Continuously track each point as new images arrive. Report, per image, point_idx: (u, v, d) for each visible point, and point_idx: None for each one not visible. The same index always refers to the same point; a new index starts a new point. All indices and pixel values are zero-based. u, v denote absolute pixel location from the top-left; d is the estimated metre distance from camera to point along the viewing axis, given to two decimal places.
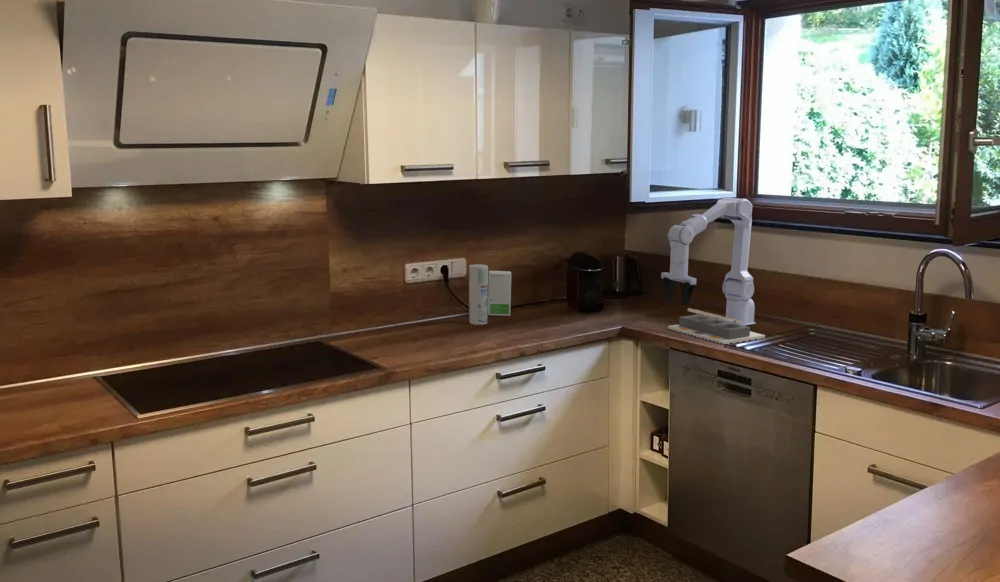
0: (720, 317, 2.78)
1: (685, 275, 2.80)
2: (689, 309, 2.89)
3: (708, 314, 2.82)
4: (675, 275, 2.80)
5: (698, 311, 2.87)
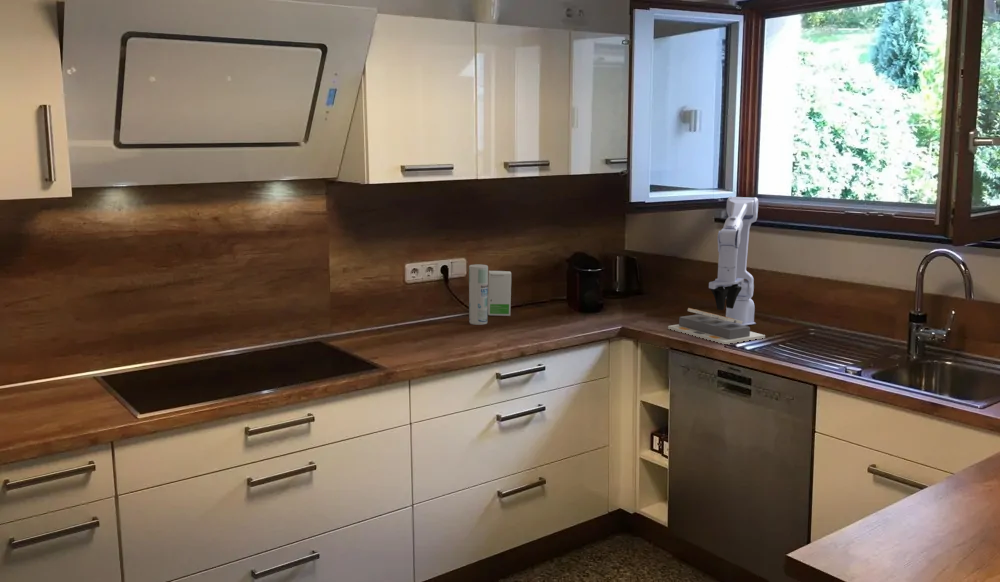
0: (720, 317, 2.78)
1: (721, 280, 2.73)
2: (689, 309, 2.89)
3: (708, 314, 2.82)
4: None
5: (698, 311, 2.87)
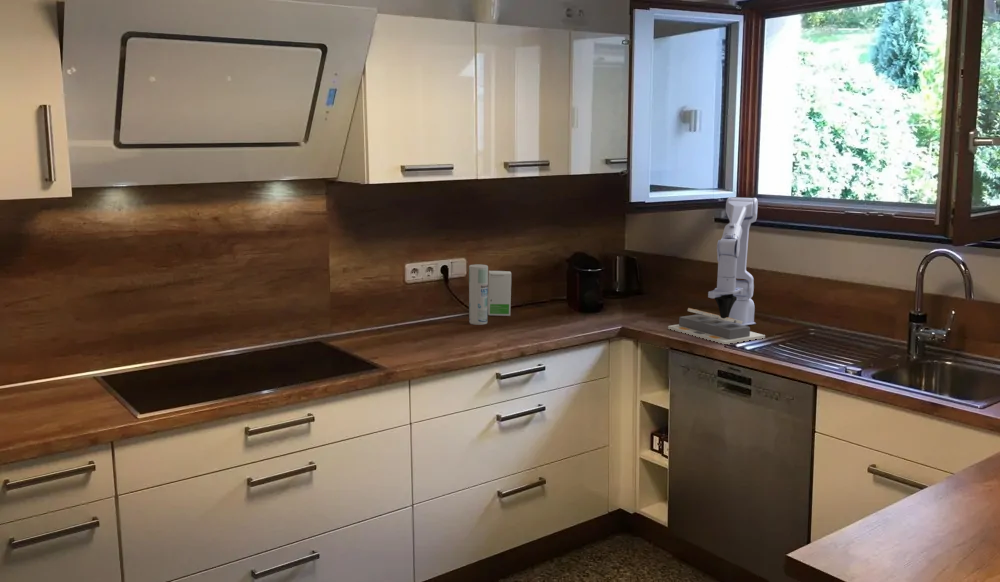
0: (720, 317, 2.78)
1: (721, 289, 2.73)
2: (689, 309, 2.89)
3: (708, 314, 2.82)
4: None
5: (698, 311, 2.87)
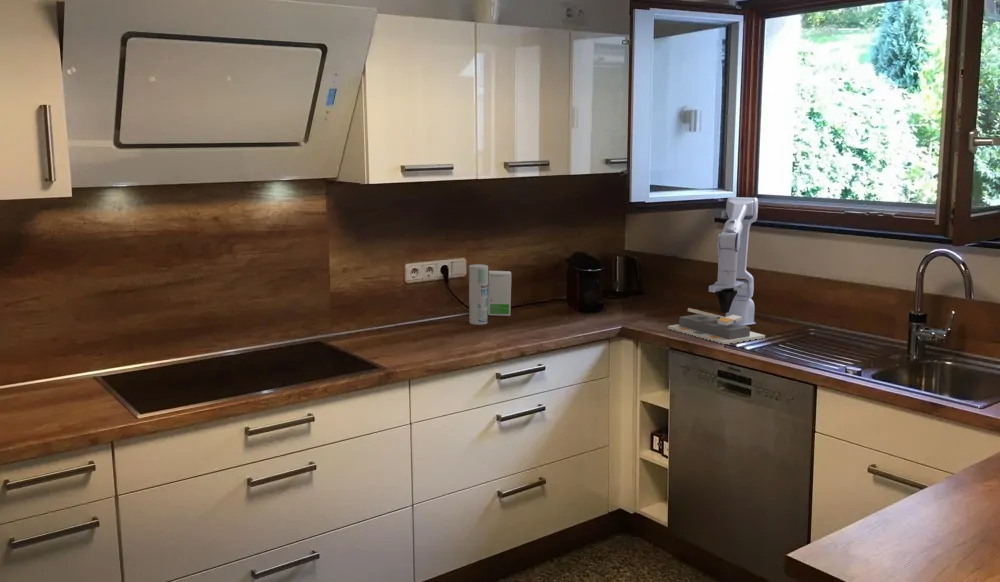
0: (719, 322, 2.78)
1: (721, 283, 2.73)
2: (689, 309, 2.89)
3: (708, 314, 2.82)
4: None
5: (698, 311, 2.87)
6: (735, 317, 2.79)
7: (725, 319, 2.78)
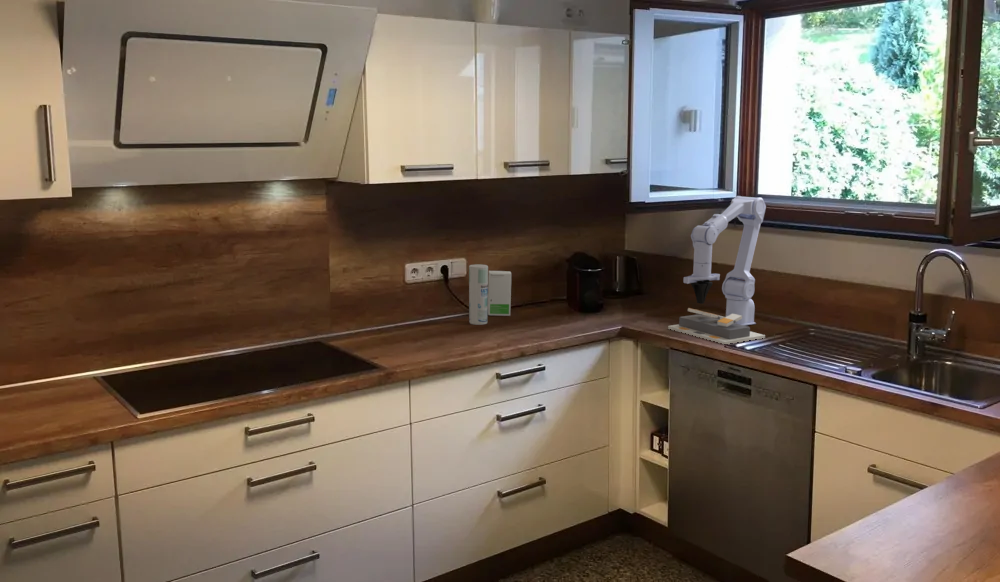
0: (719, 323, 2.78)
1: (696, 275, 2.82)
2: (689, 309, 2.89)
3: (708, 314, 2.82)
4: None
5: (698, 311, 2.87)
6: (735, 317, 2.78)
7: (725, 320, 2.78)
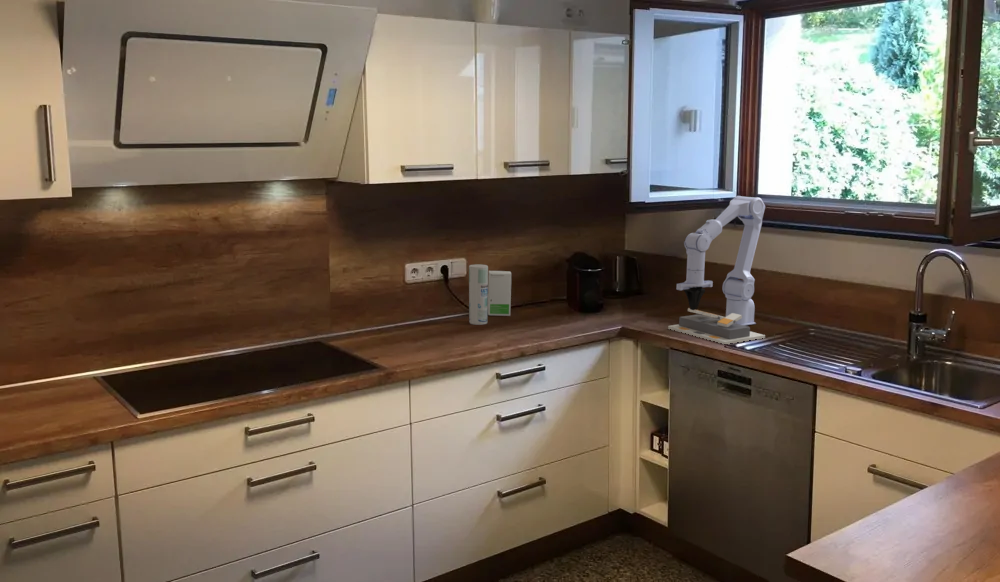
0: (719, 324, 2.78)
1: (689, 282, 2.85)
2: (689, 309, 2.89)
3: (708, 314, 2.82)
4: None
5: (698, 311, 2.87)
6: (734, 316, 2.78)
7: (725, 320, 2.78)
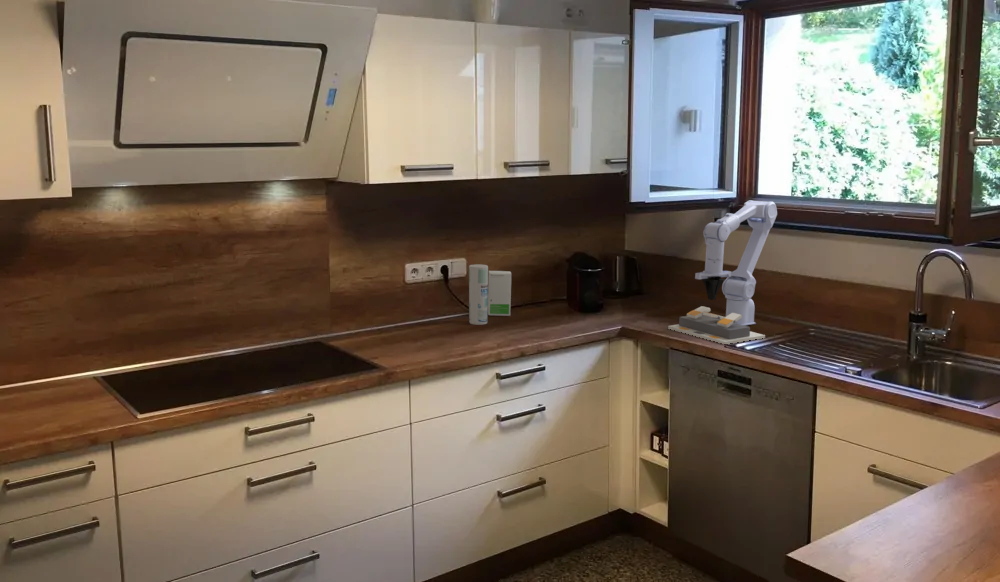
0: (719, 324, 2.78)
1: (708, 271, 2.86)
2: (688, 315, 2.90)
3: (708, 314, 2.82)
4: None
5: (697, 315, 2.87)
6: (734, 316, 2.78)
7: (725, 320, 2.78)
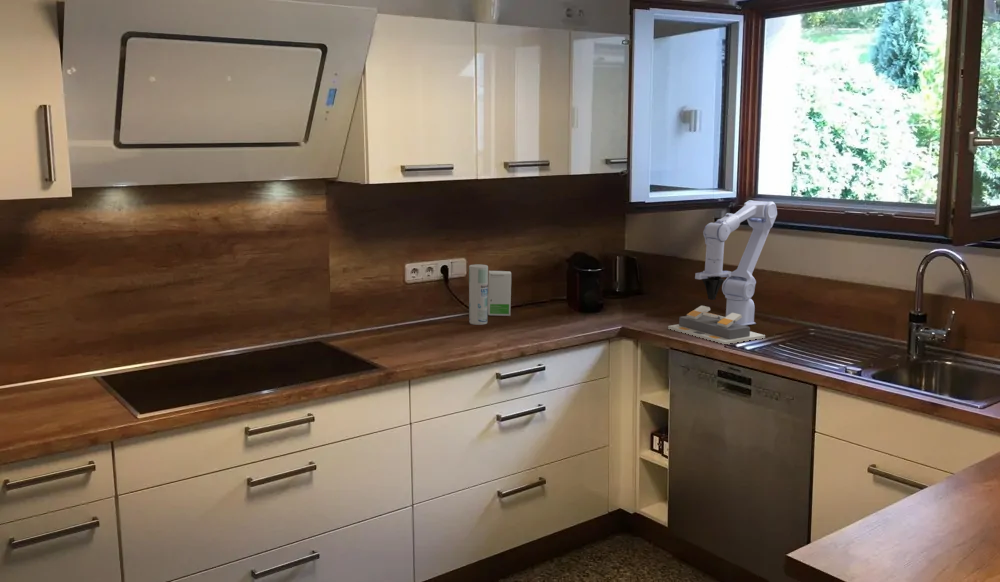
0: (719, 324, 2.78)
1: (708, 271, 2.86)
2: (688, 315, 2.90)
3: (708, 314, 2.82)
4: None
5: (697, 316, 2.87)
6: (734, 316, 2.78)
7: (725, 320, 2.78)
